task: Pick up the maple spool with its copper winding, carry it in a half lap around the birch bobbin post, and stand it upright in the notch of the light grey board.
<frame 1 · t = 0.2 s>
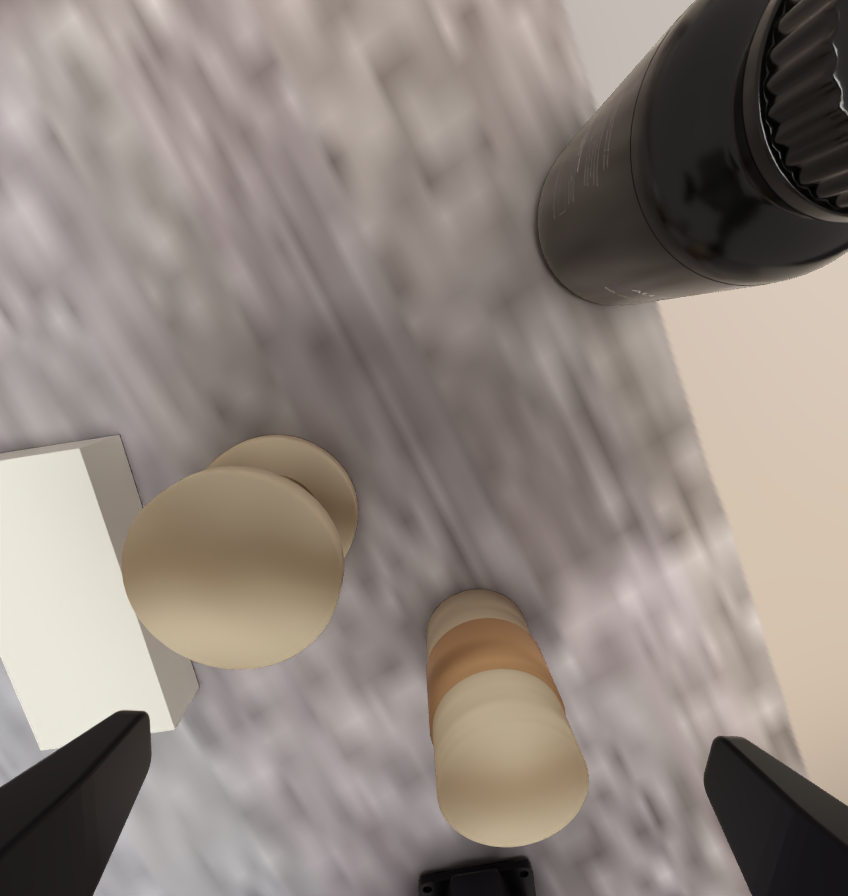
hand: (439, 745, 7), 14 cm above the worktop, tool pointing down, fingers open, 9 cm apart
supplement bottle: (615, 220, 19), on the worktop
copper spool: (476, 634, 23), on the worktop
bobbin: (280, 510, 21), on the worktop
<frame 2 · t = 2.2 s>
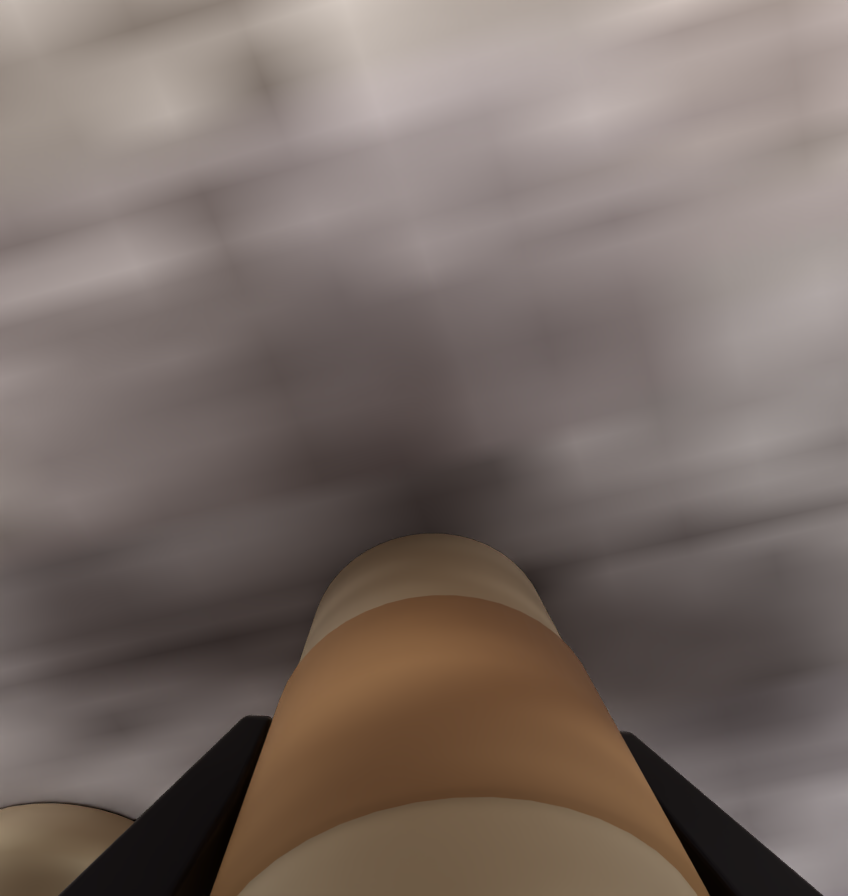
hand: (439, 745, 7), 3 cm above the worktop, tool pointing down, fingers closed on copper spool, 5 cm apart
copper spool: (430, 643, 10), on the worktop, touching gripper
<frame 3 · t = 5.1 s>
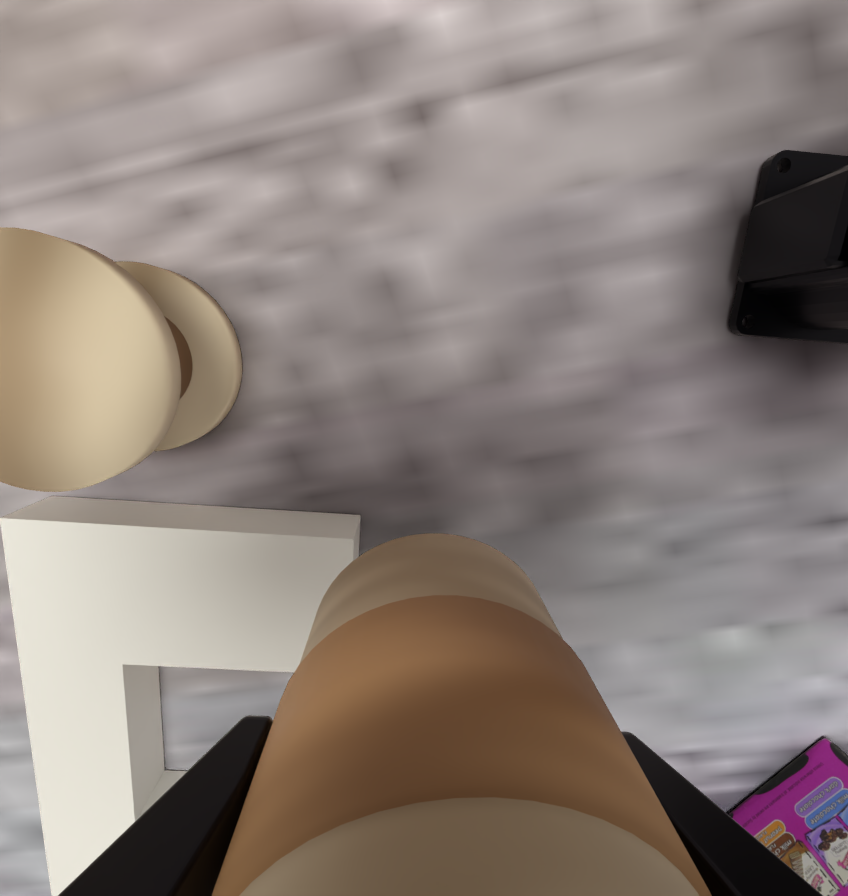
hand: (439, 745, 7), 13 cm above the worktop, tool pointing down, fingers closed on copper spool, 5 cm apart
notched board: (214, 703, 22), on the worktop
candy bar box: (766, 818, 25), on the worktop
copper spool: (431, 643, 10), point 10 cm above the worktop, touching gripper
bobbin: (152, 359, 18), on the worktop
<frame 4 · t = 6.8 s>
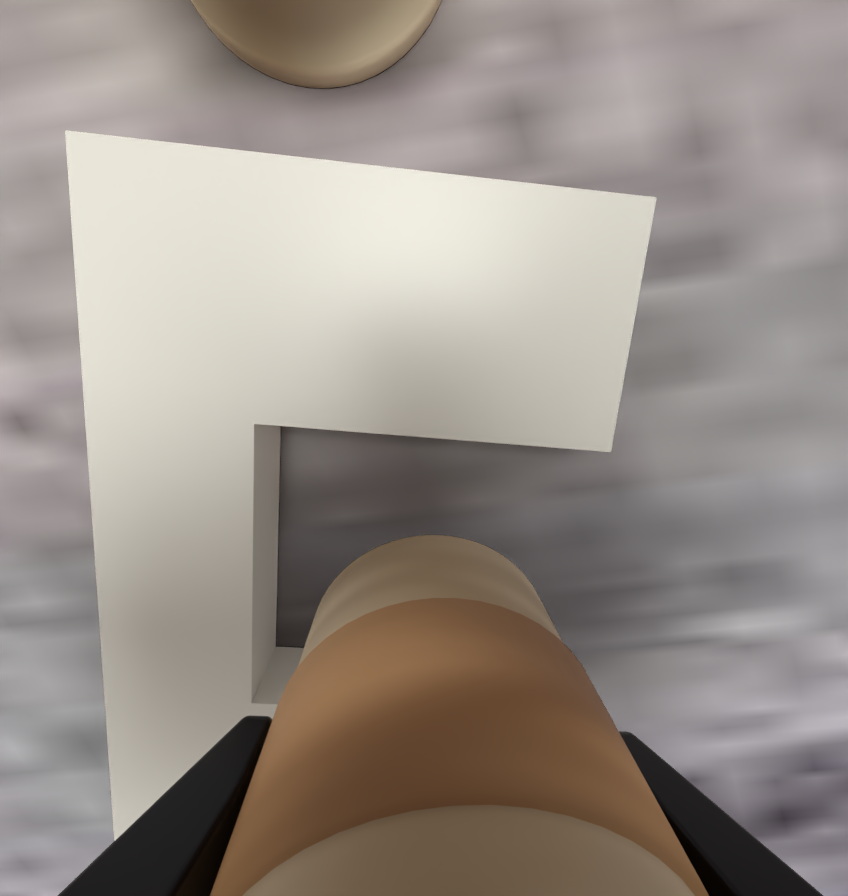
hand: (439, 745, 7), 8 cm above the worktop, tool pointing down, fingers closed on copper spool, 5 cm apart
notched board: (357, 540, 15), on the worktop
copper spool: (430, 645, 10), point 5 cm above the worktop, touching gripper
when the fingers open (4 cm above the worktop, at t = 8.3 s): copper spool drops 2 cm, on the worktop.
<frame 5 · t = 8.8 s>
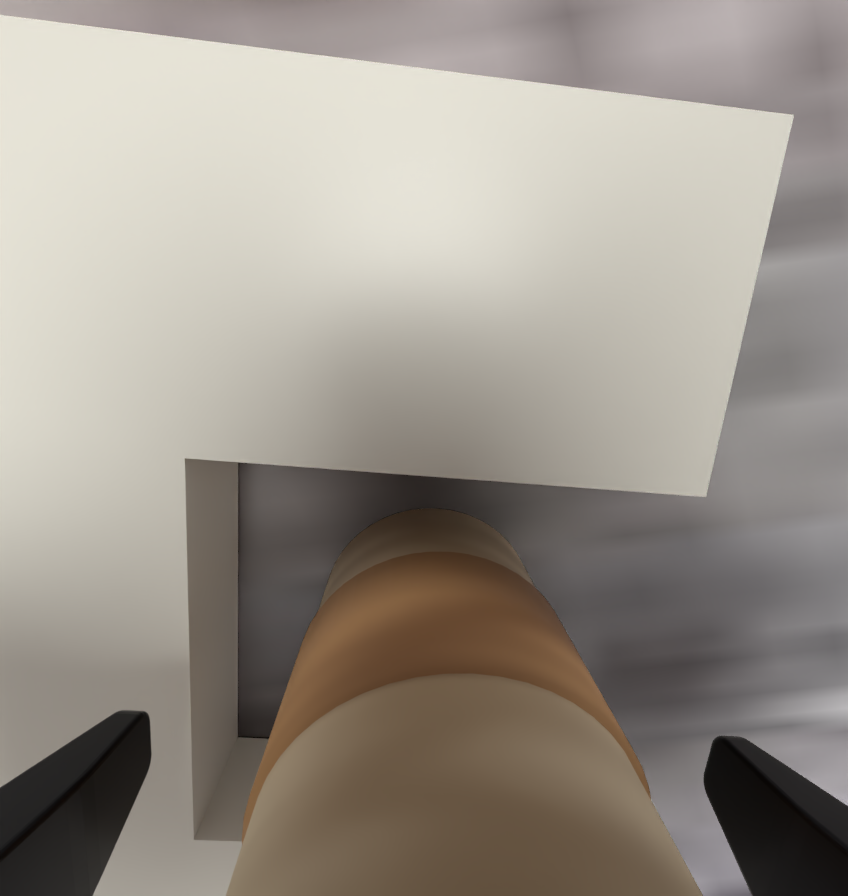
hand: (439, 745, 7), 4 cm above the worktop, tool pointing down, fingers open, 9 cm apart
notched board: (343, 602, 11), on the worktop
copper spool: (428, 605, 11), on the worktop
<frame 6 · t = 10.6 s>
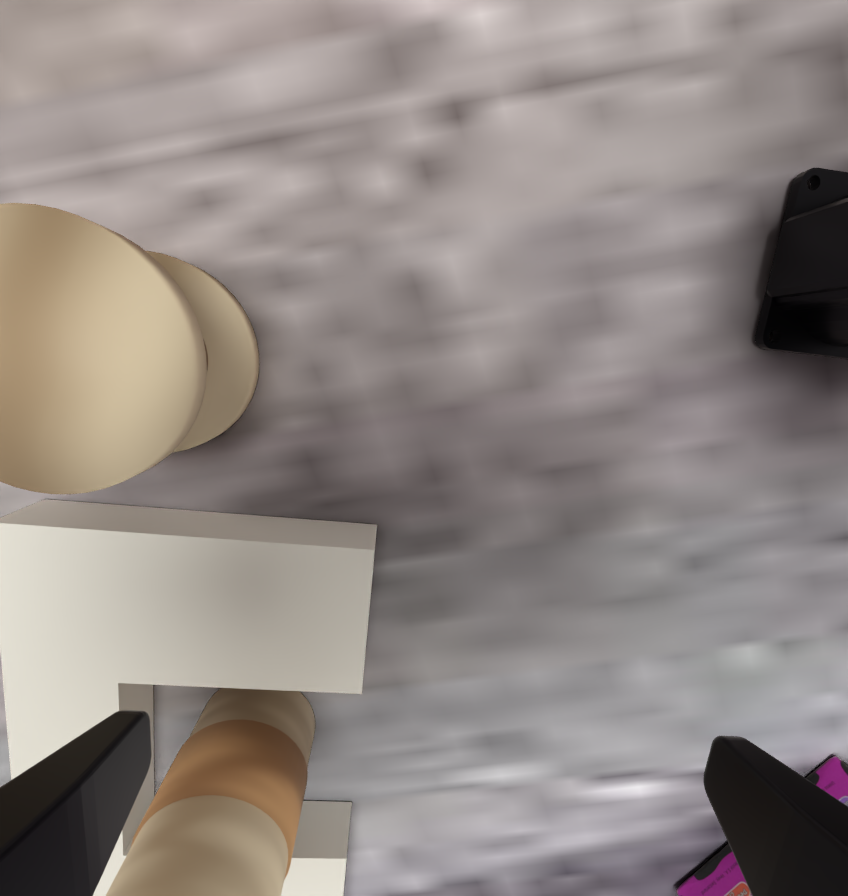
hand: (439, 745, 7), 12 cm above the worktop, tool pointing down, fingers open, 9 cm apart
notched board: (212, 724, 20), on the worktop
candy bar box: (775, 839, 24), on the worktop
copper spool: (259, 725, 21), on the worktop
bobbin: (163, 356, 17), on the worktop
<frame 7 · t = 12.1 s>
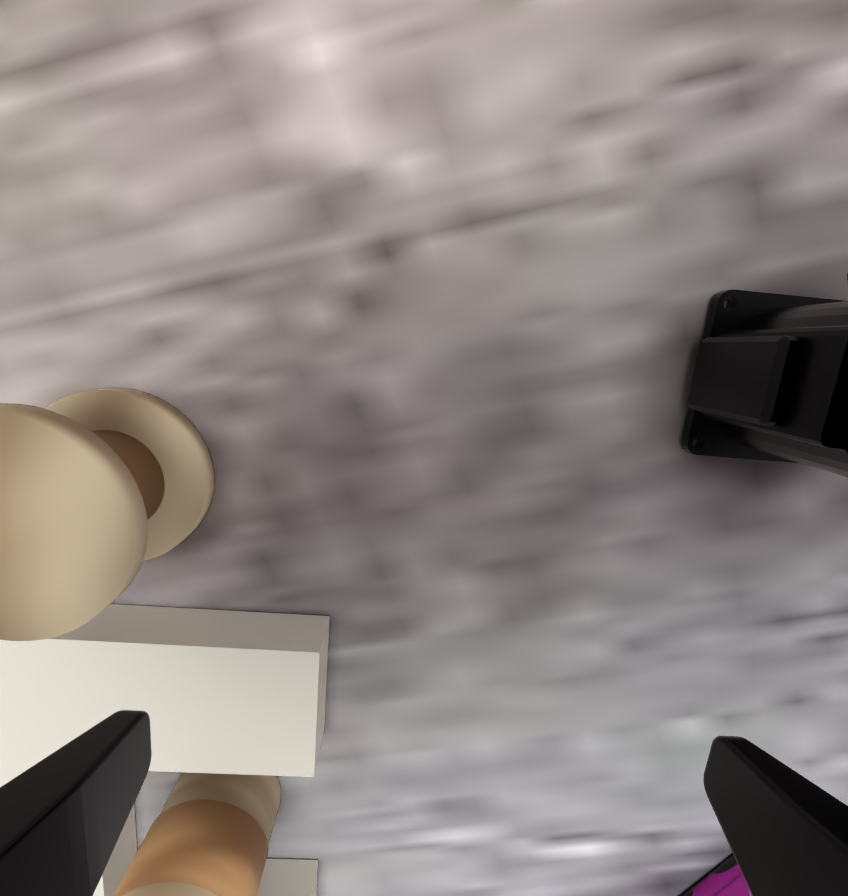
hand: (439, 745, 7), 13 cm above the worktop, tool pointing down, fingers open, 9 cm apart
notched board: (186, 792, 22), on the worktop
candy bar box: (726, 893, 25), on the worktop
copper spool: (229, 792, 22), on the worktop
bobbin: (127, 473, 19), on the worktop
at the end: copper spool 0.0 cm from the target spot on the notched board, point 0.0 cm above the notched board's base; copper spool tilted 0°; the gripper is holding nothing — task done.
